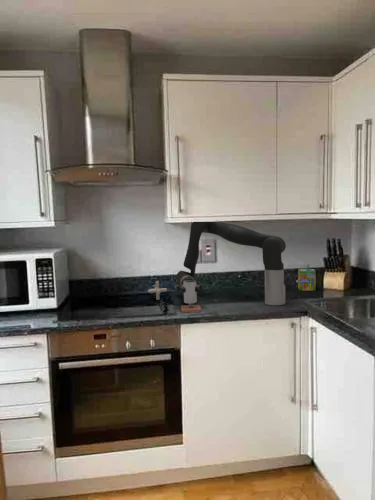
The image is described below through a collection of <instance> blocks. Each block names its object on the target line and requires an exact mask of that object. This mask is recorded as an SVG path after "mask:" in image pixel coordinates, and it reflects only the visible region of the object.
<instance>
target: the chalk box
mask: <svg viewBox="0 0 375 500" xmlns="http://www.w3.org/2000/svg"><path fill="white" fill-rule="evenodd" d="M297 271H298V273H297V288H298V291H300V292H301V291H302V292H316V291H317V288H316V287H317V285H316V284H317V281H316V279H317V272H316V269H315V268H310V263H308V264H307V266H306V268H298V270H297Z"/></svg>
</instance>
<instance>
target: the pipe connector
mask: <svg viewBox="0 0 375 500" xmlns="http://www.w3.org/2000/svg"><path fill="white" fill-rule="evenodd" d="M167 290H168V288H167V287H164V288H163V287H162V288H160V280H156V281H155V286H154V288H151V289H150V288H149V289H147V292H148V293H149V294H152V293H155V297H156V300H157V301H158V300H159V301H160V294H161V293H162V292H167Z"/></svg>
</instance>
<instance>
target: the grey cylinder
mask: <svg viewBox="0 0 375 500" xmlns="http://www.w3.org/2000/svg"><path fill="white" fill-rule="evenodd" d="M183 284H184V293H183V303H185V304H188V303H193V304H196V303H197V302H198V300H197V299H198V296H197V295H198V292H196V284H197V280H196V279H195V280H185V281H183Z"/></svg>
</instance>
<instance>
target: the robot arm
mask: <svg viewBox="0 0 375 500" xmlns="http://www.w3.org/2000/svg"><path fill="white" fill-rule="evenodd" d="M203 233H204V234H211V235H215V236H218V237H220V238H222V239H224V240H225V241H228V242H230V243H234V244H236V245H239V246H241V245H242V246H246V247H247V246H248V247H256V248H259V249H261V251H262V263H263V266H264V303H265V305H269V306H281V305H286V284H285V276H284V275H285V272H284V271H285V269H284V267H285V266H284V265H285V264H284V263H283V261H282V253H284V251H285V250H286V248H287V245H286V241H285V240H284V239H283V238H282V237H280V236H276V235H270V234H265V233H261V232H258V231H255V230H253V229H250V228H247V227H244V226H241V225H237V224H233V223H228V222H222V221H219V222H193V223H192V222H191V223H190V231H189V238H188V239H189V240H188V246H187V249H186V250H187V251H186V254H185V256H184V261H183V267H184V268H186V269H187V270H189V271H190V272H189V271H187V270H179V271H178V272H177V274H176V282H177V283H176V284H175V285H174V286H175V287H174V288H175V290H176V292H181V293H182V294H184V284H183V281H185V280H195V281H196V270H197V269H196V267H197V263H198V260H199V255H200V240H201V236H202V234H203ZM203 289H204V284H203V282H200V283H198V284H197V283H196V292H197V293H199V292H201V291H203Z"/></svg>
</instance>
